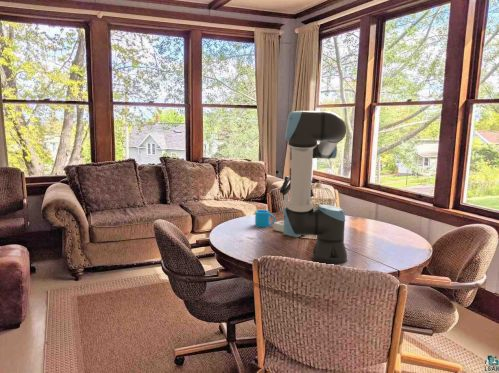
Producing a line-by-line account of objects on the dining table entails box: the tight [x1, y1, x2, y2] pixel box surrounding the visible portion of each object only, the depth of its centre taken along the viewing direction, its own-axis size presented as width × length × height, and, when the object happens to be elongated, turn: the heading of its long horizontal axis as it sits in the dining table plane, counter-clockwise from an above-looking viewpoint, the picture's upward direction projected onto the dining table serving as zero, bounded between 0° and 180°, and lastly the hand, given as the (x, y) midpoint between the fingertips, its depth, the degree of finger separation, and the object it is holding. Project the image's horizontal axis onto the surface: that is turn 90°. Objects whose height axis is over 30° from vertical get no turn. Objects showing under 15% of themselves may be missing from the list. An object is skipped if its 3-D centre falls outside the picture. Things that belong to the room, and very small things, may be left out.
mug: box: [254, 209, 276, 228], centre depth 236 cm, size 12×8×8 cm
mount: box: [273, 220, 284, 233], centre depth 227 cm, size 7×7×4 cm
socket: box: [282, 226, 301, 238], centre depth 219 cm, size 9×9×6 cm
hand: (296, 208), depth 217 cm, fingers open, 13 cm apart
